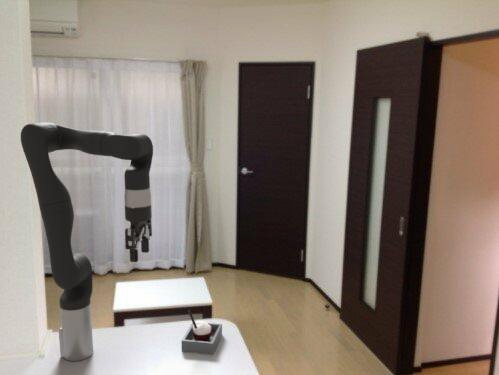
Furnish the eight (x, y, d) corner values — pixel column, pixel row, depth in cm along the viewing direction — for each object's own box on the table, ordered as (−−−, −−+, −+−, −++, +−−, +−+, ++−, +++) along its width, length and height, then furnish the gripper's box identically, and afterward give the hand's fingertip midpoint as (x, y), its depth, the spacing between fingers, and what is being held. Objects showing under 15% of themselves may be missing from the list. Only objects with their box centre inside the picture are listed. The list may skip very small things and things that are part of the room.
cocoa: (213, 336, 165) (214, 303, 164) (215, 344, 159) (216, 310, 158) (185, 337, 163) (186, 304, 162) (187, 346, 157) (188, 311, 156)
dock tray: (181, 351, 156) (181, 340, 155) (193, 332, 169) (192, 321, 168) (212, 354, 154) (212, 343, 154) (222, 334, 168) (222, 324, 167)
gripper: (135, 197, 144) (137, 248, 147) (115, 208, 130) (117, 264, 133) (158, 198, 143) (160, 250, 146) (140, 209, 129) (142, 266, 132)
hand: (139, 256), depth 140 cm, fingers open, 8 cm apart
